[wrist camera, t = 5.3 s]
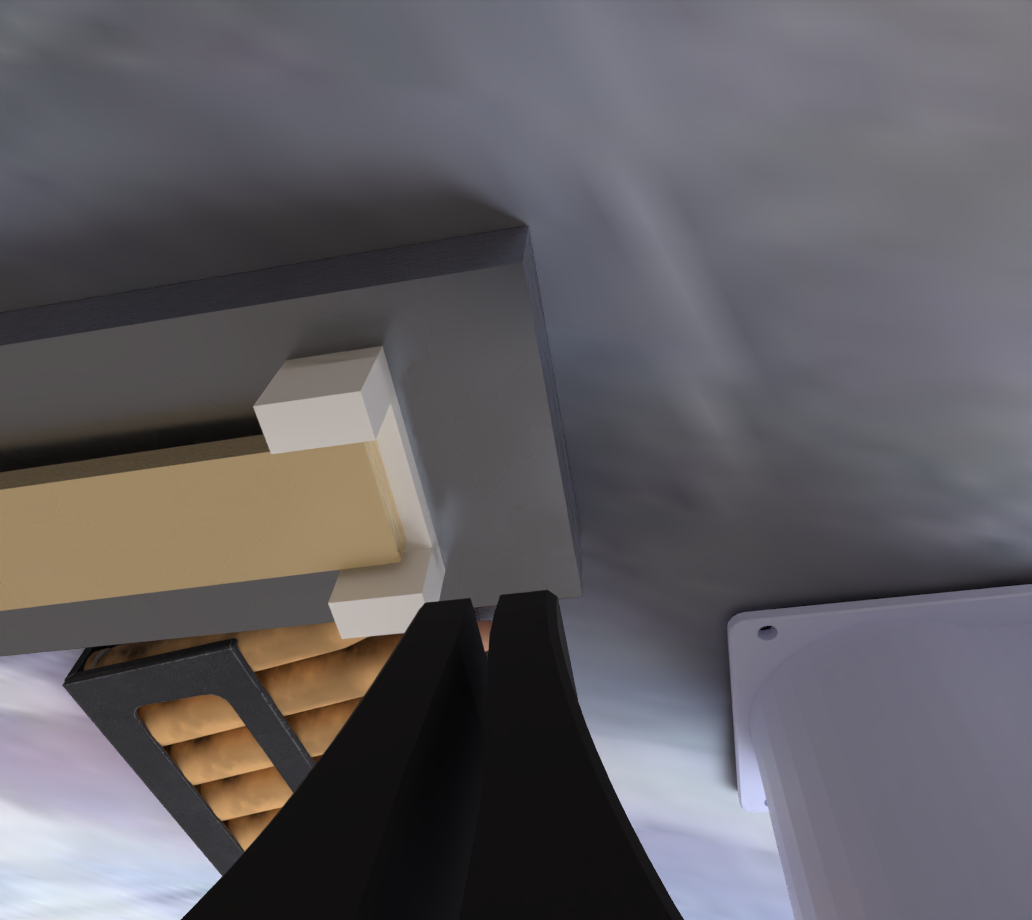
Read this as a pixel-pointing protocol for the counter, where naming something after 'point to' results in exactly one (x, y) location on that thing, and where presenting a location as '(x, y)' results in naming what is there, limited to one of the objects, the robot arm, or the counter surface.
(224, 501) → the tan long flat bar
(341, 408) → the lug
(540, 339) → the block
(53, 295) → the counter surface
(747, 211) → the counter surface
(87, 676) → the ammunition clip
